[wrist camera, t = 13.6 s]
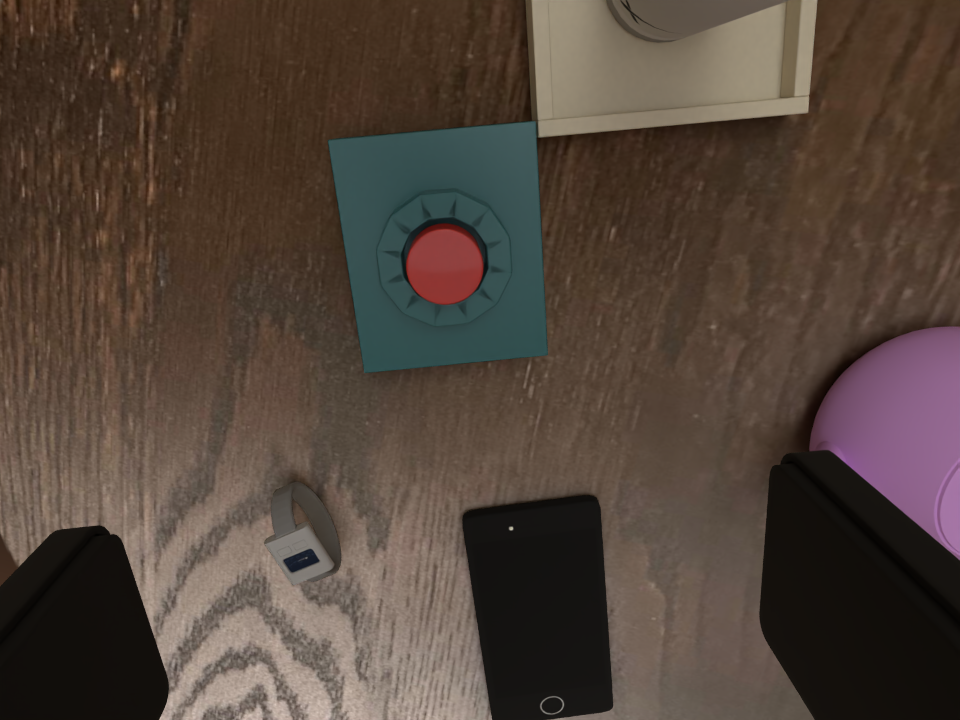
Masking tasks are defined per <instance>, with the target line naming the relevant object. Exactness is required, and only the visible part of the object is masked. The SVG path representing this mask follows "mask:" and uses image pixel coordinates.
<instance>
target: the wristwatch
mask: <svg viewBox="0 0 960 720" xmlns="http://www.w3.org/2000/svg"><path fill="white" fill-rule="evenodd" d="M292 498H293V499H294V500H295V501H296V502H297V503H298V504H299V505H300V507H301V508H302V509H303V510H304V512H305V513H306V515H307V516H308V518H309V520H310V522H311V524H312V526H313V528H314V530H315V533H316V534H315V533H314V531H313V530H312V528H311V527H310V525H309V523H308V522H303V523H301V524H299V525H296V524H295V520H294V515H293V509H292ZM271 517H272V524H273V529H274V533H275V535H272V536H270V537H268V538H267V539H266V540H265V541H264V544H265V546H266V547H267V549H268V550H269V552H270V553H271V554H272V556H273V557H274V559H275V560H276V562H277V563H278V565H279V566H280V568H281V569H282V571H283V572H284V574H285V575H286V576H287V578H288V579H289V581H290V582H291V584H292V585H295V584H298V583H300V582H303V581H305V580H307V581H311V582H314V581H318V580H321V579H323V578H325V577H328V576H330V575H333V574H334V573H336V572H337V571H338V570H339V568H340V565H341V548H340V543H339V539H338V535H337V532H336V529H335V526H334V524H333V521H332V519H331V517H330V515H329V513H328V511H327V509H326V508H325V506H324V504H323V503H322V501H321V500H320V499H319V498H318V496H317V495H316V494H315V493H314V492H313V491H312V490H311V489H310V488H309V487H308V486H306V485H305V484H303V483H301V482H297V481H296V482H293V483H290V484H288V485H286V486H283V487H281V488H279V489H277V490H276V491H275V492H274V494H273V497H272V502H271Z"/></svg>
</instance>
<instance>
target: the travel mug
mask: <svg viewBox="0 0 960 720" xmlns="http://www.w3.org/2000/svg"><path fill="white" fill-rule="evenodd" d="M606 1H607V4H608V7H609V9H610V11H611V12H612V14H613V16H614V17H615V19H616V21H617V22H618V23H619V24H620V25H621V26H622V27H623V28H624V29H625V30H626V31H628V32H629V33H631V34H632V35H634V36H635V37H638V38H640V39H643V40H645V41H650V42H656V43H663V42H672V41H676V40H679V39H683V38H686V37H688V36H691V35H694V34H697V33H700V32H702V31H705V30H708V29H711V28H714V27H716V26H719V25H722V24H725V23H728V22H730V21H733V20H736V19H739V18H742V17H744V16H747V15H750V14H753V13H756V12H758V11H761V10H764V9H767V8H770V7H772V6H775V5H778V4H781V3H784V2H787V1H789V0H606Z"/></svg>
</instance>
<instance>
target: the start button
mask: <svg viewBox="0 0 960 720" xmlns="http://www.w3.org/2000/svg"><path fill="white" fill-rule="evenodd" d="M483 269H484V268H483V258H482V255H481V251H480V248H479V245H478V243H477V242H476V240H475V238H474V237H473V236H472V235H471V234H470V233H469V232H468V231H466V230H465V229H463V228H462V227H459V226H457V225H453V224H447V223H441V224H435V225H432V226H430V227H428V228H426V229H424V230H423V231H421V232H420V233H419V234H418V235H417V236H416V238H415V239H414V240H413V242H412V244H411V246H410V249H409V252H408V256H407V261H406V272H407V276H408V279H409V282H410V284H411V286H412V287H413V289H414V290H415V291H416V292H417V293H418V294H419V295H420V296H421V297H422V298H424V299H425V300H427V301H429V302H432V303H435V304H441V305H450V304H455V303H458V302H461V301H463V300H465V299H466V298H468V297H469V296H470V295H471V294H472V293H473V292H474V291H475V290H476V289H477V287H478V286H479V284H480V282H481V279H482V275H483Z"/></svg>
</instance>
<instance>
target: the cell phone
mask: <svg viewBox="0 0 960 720" xmlns="http://www.w3.org/2000/svg"><path fill="white" fill-rule="evenodd" d="M462 521H463V532H464V538H465V545H466V551H467V558H468V564H469V571H470V577H471V584H472V590H473V597H474V604H475V610H476V617H477V623H478V630H479V636H480V643H481V649H482V656H483V663H484V669H485V676H486V682H487V689H488V695H489V702H490V708H491V715H492V720H549V719H556V718H564V717H571V716H579V715H586V714H594V713H601V712H606V711H609V710H611V709H612V708H613V694H612V679H611V663H610V648H609V632H608V617H607V602H606V586H605V571H604V556H603V540H602V525H601V509H600V505H599V502H598V500H597V498H596V497H594V496H590V495H583V496H576V497H568V498H560V499H553V500H545V501H538V502H530V503H523V504H515V505H507V506H500V507H492V508H485V509H477V510H472V511H469V512H466V513H465V514H464V515H463V519H462Z"/></svg>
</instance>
